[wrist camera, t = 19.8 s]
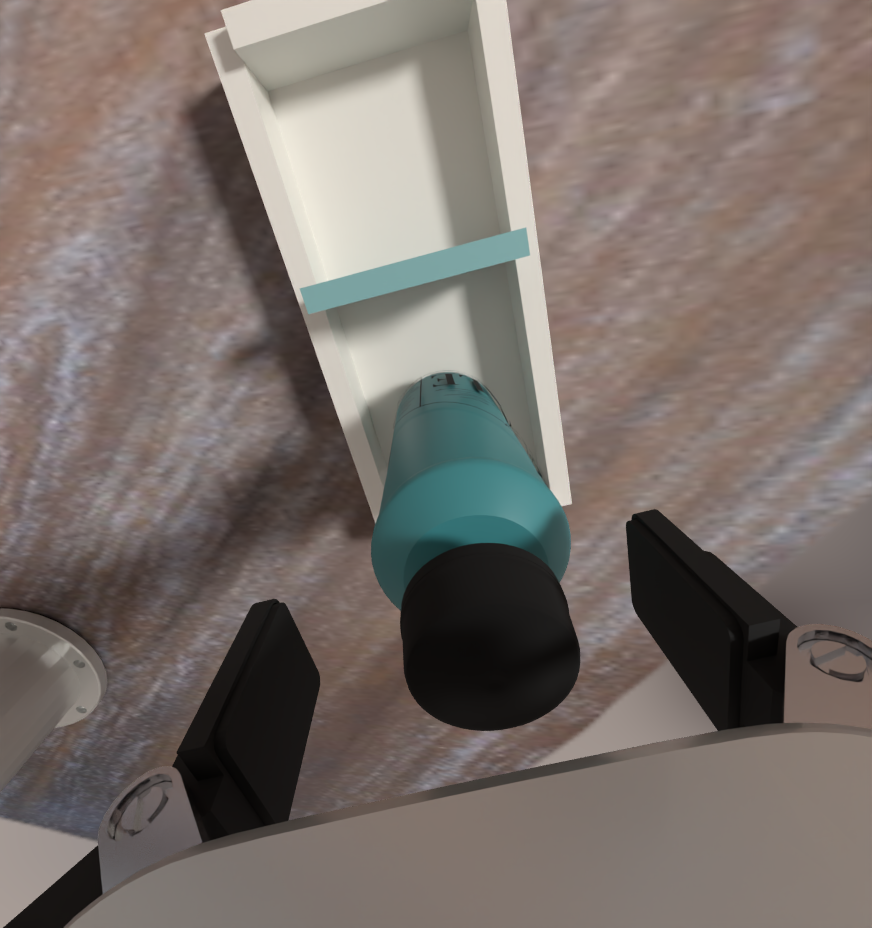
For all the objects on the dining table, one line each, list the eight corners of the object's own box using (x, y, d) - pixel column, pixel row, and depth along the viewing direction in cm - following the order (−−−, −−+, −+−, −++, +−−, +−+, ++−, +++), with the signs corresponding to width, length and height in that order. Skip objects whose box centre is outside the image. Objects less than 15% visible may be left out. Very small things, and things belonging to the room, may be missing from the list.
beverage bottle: (402, 465, 29) (367, 796, 10) (387, 367, 26) (304, 575, 8) (498, 454, 28) (637, 769, 10) (493, 354, 26) (667, 536, 7)
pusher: (341, 305, 24) (308, 314, 17) (336, 287, 24) (299, 288, 17) (498, 263, 24) (530, 255, 17) (495, 244, 23) (526, 227, 16)
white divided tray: (387, 518, 31) (381, 554, 27) (237, 71, 21) (192, 19, 17) (556, 480, 30) (577, 511, 26) (486, -6, 20) (502, -81, 16)
